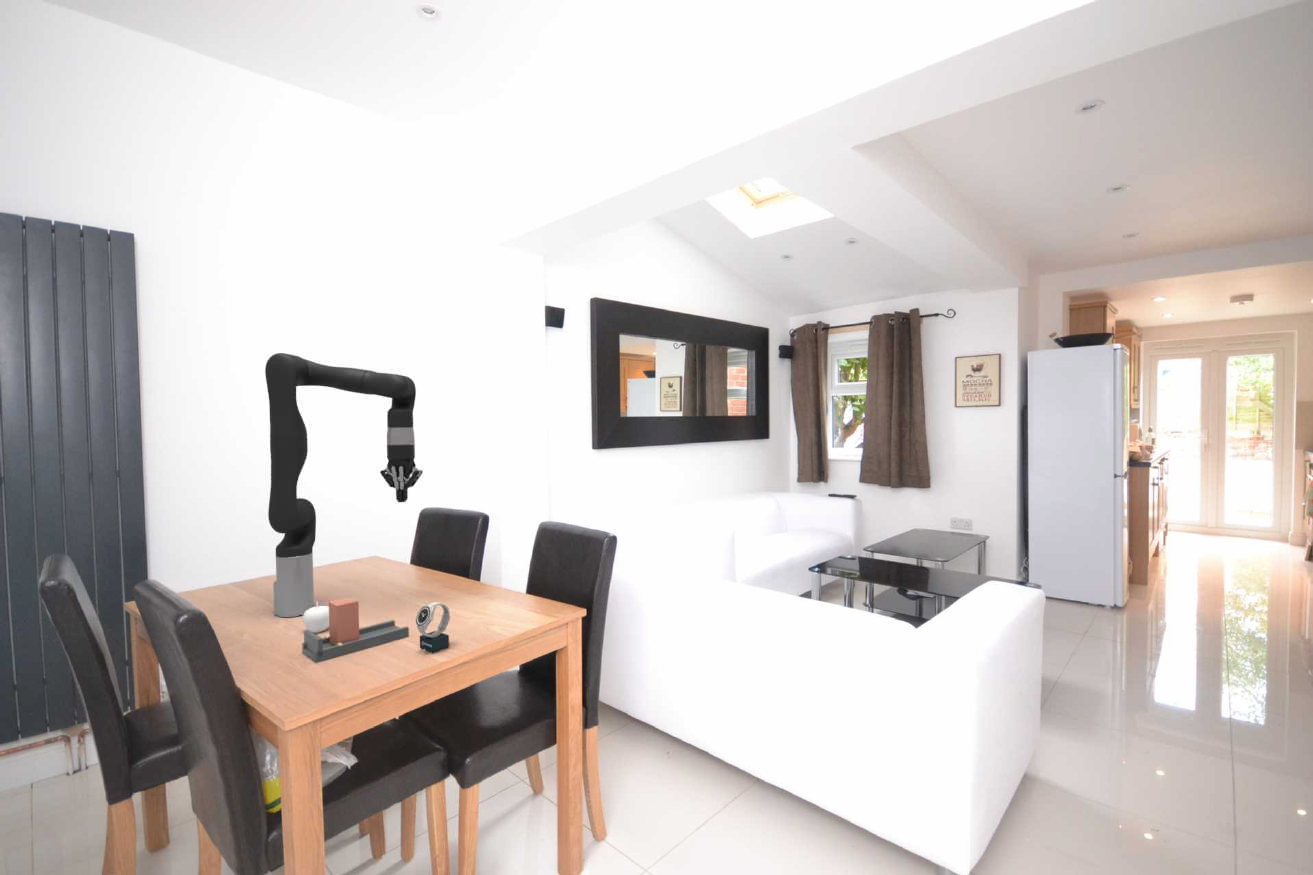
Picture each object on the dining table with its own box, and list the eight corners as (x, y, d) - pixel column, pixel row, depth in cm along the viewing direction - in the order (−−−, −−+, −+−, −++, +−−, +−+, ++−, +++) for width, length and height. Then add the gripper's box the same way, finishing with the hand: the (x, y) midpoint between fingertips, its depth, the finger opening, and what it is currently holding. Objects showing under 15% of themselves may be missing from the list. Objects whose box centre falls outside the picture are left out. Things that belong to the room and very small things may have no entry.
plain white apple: (299, 636, 155) (298, 606, 155) (307, 627, 162) (306, 598, 162) (329, 633, 157) (328, 603, 157) (335, 624, 164) (335, 595, 164)
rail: (392, 628, 160) (392, 609, 160) (409, 636, 154) (408, 616, 154) (301, 652, 144) (301, 631, 144) (316, 662, 138) (315, 640, 138)
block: (351, 636, 150) (350, 597, 150) (359, 641, 147) (358, 601, 147) (329, 642, 147) (328, 601, 146) (337, 647, 143) (336, 605, 143)
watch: (412, 651, 144) (411, 605, 144) (441, 640, 151) (440, 597, 151) (426, 656, 141) (425, 609, 141) (455, 645, 148) (454, 601, 148)
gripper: (372, 443, 173) (373, 503, 174) (413, 443, 171) (414, 504, 171) (388, 442, 181) (390, 500, 181) (428, 442, 178) (429, 500, 178)
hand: (402, 501), depth 176 cm, fingers closed
